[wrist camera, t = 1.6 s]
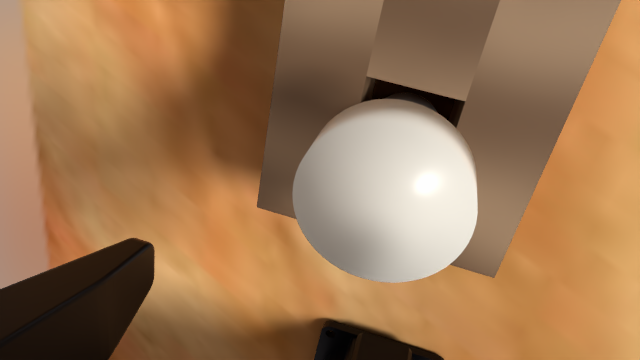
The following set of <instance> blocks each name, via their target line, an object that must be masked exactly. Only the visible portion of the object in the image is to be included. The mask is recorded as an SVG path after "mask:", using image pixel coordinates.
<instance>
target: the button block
mask: <svg viewBox="0 0 640 360" xmlns="http://www.w3.org/2000/svg"><path fill="white" fill-rule="evenodd" d="M620 1H621V0H285V4H284V11H283V19H282V26H281V33H280V41H279V48H278V55H277V63H276V70H275V77H274V84H273V92H272V99H271V106H270V114H269V121H268V128H267V136H266V143H265V150H264V158H263V165H262V172H261V180H260V187H259V194H258V202H257V207H258V208H261V209H265V210H268V211H271V212H275V213H278V214H281V215H285V216H288V217H292V218H295V219H297V218H296V215H295V212H294V206H293V195H292V192H293V182H294V179H295V175H296V172H297V169H298V167H299V164H300V162H301V161H302V159H303V158H304V156H305V154H306V153H307V151H308V150H309V148H310V147H311V145H312V144H313V142H314V141H315V139H316V138H317V136H318V135H319V133H320V132H321V130H322V129H323V128H324V127H325V125H326V124H327V123H328V122H329V121H330V120H331V119H332V118H334V117H335V116H336V115H337V114H339V113H340V112H342V111H343V110H345V109H347V108H349V107H351V106H353V105H356V104H359V103H362V102H365V101H370V100H371V98H372V94H373V90H374V86H375V82H376V79H379V80H383V81H387V82H391V83H395V84H399V85H403V86H407V87H411V88H415V89H419V90H423V91H427V92H430V93H434V94H438V95H442V96H446V97H450V98H454V99H455V102H454V105H453V108H452V111H451V114H450V117H449V120H448V121H449V122H450V123H451V124H453V126H454V127H455V128H456V129H457V130H458V131H459V132H460V133H461V135H462V136H463V138H464V139H465V141H466V142H467V144H468V146H469V148H470V150H471V152H472V155H473V158H474V161H475V167H476V175H477V203H478V214H477V221H476V226H475V229H474V232H473V235H472V237H471V239H470V241H469V243H468V245H467V246H466V248H465V249H464V250H463V252H462V253H461V254H460V255H459V256H458V257H457V258H456V259H455V260H454V261H453V262H452V263H451V264H449V265H453V266H456V267H460V268H463V269H466V270H470V271H473V272H476V273H480V274H483V275H486V276H490V277H493V278H494V277H495V275H496V273H497V271H498V269H499V267H500V264H501V262H502V260H503V258H504V256H505V253H506V251H507V249H508V247H509V245H510V242H511V240H512V238H513V236H514V234H515V231H516V229H517V227H518V225H519V223H520V221H521V218H522V216H523V214H524V212H525V210H526V207H527V205H528V203H529V201H530V199H531V196H532V194H533V192H534V190H535V188H536V185H537V183H538V181H539V179H540V177H541V175H542V172H543V170H544V168H545V166H546V164H547V161H548V159H549V157H550V155H551V153H552V150H553V148H554V146H555V144H556V142H557V139H558V137H559V135H560V133H561V131H562V129H563V126H564V124H565V122H566V120H567V118H568V115H569V113H570V111H571V109H572V107H573V104H574V102H575V100H576V98H577V96H578V93H579V91H580V89H581V87H582V85H583V83H584V80H585V78H586V76H587V74H588V72H589V69H590V67H591V65H592V63H593V61H594V58H595V56H596V54H597V52H598V50H599V47H600V45H601V43H602V41H603V39H604V37H605V34H606V32H607V30H608V28H609V26H610V23H611V21H612V19H613V17H614V15H615V12H616V10H617V8H618V6H619V4H620Z"/></svg>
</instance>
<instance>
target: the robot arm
mask: <svg viewBox="0 0 640 360" xmlns="http://www.w3.org/2000/svg"><path fill="white" fill-rule="evenodd" d="M153 280H154V246H153V245H152V244H151V243H149V242H146V241H143V240H140V239H137V238H130V239H127V240H124V241H122V242H119V243H117V244H114V245H112V246H109V247H106V248H104V249H101V250H99V251H96V252H94V253H91V254H89V255H86V256H84V257H81V258H78V259H76V260H73V261H71V262H68V263H66V264H63V265H61V266H58V267H56V268H53V269H50V270H48V271H45V272H43V273H40V274H38V275H35V276H33V277H30V278H28V279H25V280H23V281H20V282H17V283H15V284H12V285H10V286H8V287H5V288H2V289H0V360H108V359H109V358H110V356H111V355H112V353H113V352H114V350H115V348H116V347H117V345H118V343H119V342H120V340H121V338H122V336H123V335H124V333H125V331H126V330H127V328H128V326H129V325H130V323H131V321H132V319H133V318H134V316H135V314H136V313H137V311H138V309H139V307H140V306H141V304H142V302H143V301H144V299H145V297H146V295H147V294H148V292H149V290H150V288H151V286H152V284H153ZM329 330H332V331H333V332H330V331H329ZM314 360H444V359H443V358H442V357H441V356H438V355H436V354H433V353H430V352H426V351H423V350H420V349H417V348H414V347H411V346H408V345H405V344H402V343H398V342H395V341H392V340H389V339H386V338H383V337H380V336H377V335H374V334H371V333H367V332H364V331H361V330H358V329H355V328H352V327H349V326H346V325H343V324H339V323H336V322H333V321H328V322H326V323H324V325H323V327H322V330H321V334H320V338H319V342H318V346H317V350H316V354H315V358H314Z"/></svg>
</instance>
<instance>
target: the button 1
mask: <svg viewBox="0 0 640 360" xmlns="http://www.w3.org/2000/svg"><path fill="white" fill-rule="evenodd" d="M292 195H293V206H294V212H295V215H296V218H297V221H298V224H299V226H300V228H301V230H302V232H303V234H304V235H305V237H306V238H307V240H308V241H309V242H310V244H311V245H312V246H313V247H314V249H315V250H316V251H317V252H318V253H320V254H321V255H322V256H323V257H324V258H325V259H326V260H328V261H329V262H330V263H332V264H333V265H335V266H337V267H338V268H340V269H342V270H344V271H346V272H348V273H350V274H352V275H355V276H358V277H360V278H364V279H368V280H372V281H379V282H392V283H396V282H408V281H413V280H418V279H421V278H425V277H428V276H430V275H432V274H435V273H437V272H439V271H440V270H442V269H444V268H445V267H447V266H448V265H449V264H451V263H452V262H453V261H454V260H455V259H456V258H457V257H458V256H459V255H460V254H461V253H462V252H463V250H464V249H465V248H466V246H467V245H468V243H469V241H470V239H471V237H472V235H473V232H474V229H475V226H476V221H477V214H478V203H477V175H476V167H475V161H474V158H473V155H472V152H471V150H470V148H469V146H468V144H467V142H466V141H465V139H464V138H463V136H462V135H461V133H460V132H459V131H458V130H457V129H456V128H455V127H454V126H453V124H451V123H450V122H449V121H448V120H447V119H445V118H444V117H443V116H441V115H440V114H438V113H437V111H436V109H435V108H434V106H433V105H432V104H431V103H430V102H429V101H428V100H426V99H425V98H423V97H421V96H419V95H416V94H413V93H405V92H404V93H396V94H392V95H390V96H388V97H386V98H384V99H376V100H370V101H365V102H362V103H359V104H356V105H353V106H351V107H349V108H347V109H345V110H343V111H342V112H340V113H339V114H337V115H336V116H335V117H334V118H332V119H331V120H330V121H329V122H328V123H327V124H326V125H325V127H324V128H323V129H322V130H321V132H320V133H319V135H318V136H317V138H316V139H315V141H314V142H313V144H312V145H311V147H310V148H309V150H308V151H307V153H306V154H305V156H304V158H303V159H302V161H301V162H300V164H299V167H298V169H297V172H296V175H295V179H294V182H293V192H292Z"/></svg>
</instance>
